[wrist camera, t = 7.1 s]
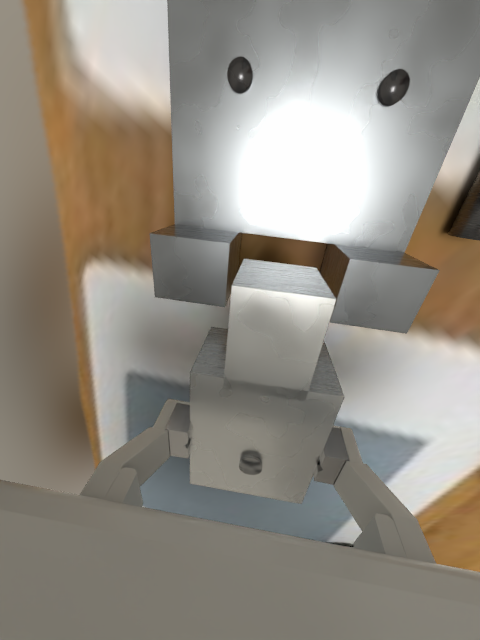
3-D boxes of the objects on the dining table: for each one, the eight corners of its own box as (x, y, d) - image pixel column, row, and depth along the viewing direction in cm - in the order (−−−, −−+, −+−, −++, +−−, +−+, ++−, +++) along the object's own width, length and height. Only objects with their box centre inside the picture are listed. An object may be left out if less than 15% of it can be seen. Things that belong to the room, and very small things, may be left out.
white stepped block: (295, 439, 15) (302, 510, 11) (206, 424, 15) (188, 488, 12) (346, 271, 10) (384, 308, 7) (214, 254, 10) (186, 282, 7)
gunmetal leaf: (372, 295, 15) (406, 333, 11) (184, 269, 16) (154, 297, 12) (487, 5, 9) (647, -133, 5) (180, -13, 10) (118, -145, 6)
